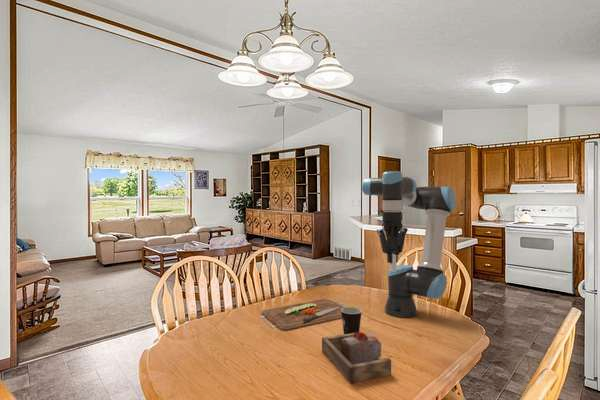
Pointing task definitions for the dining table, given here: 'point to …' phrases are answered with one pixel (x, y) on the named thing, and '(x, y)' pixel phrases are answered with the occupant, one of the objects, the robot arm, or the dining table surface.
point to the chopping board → (303, 314)
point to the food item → (361, 348)
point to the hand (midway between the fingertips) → (392, 270)
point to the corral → (357, 370)
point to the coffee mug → (351, 319)
